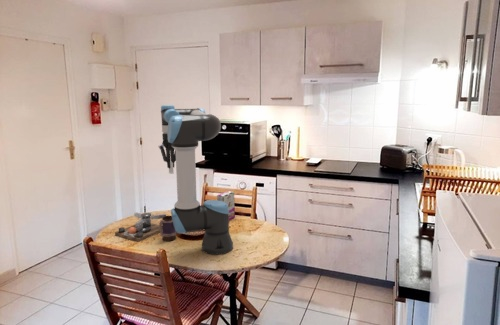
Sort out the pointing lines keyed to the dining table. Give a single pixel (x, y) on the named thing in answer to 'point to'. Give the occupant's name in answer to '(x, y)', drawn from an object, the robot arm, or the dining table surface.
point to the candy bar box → (228, 202)
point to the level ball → (132, 230)
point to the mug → (167, 229)
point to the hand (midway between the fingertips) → (171, 173)
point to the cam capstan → (145, 221)
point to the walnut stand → (138, 233)
